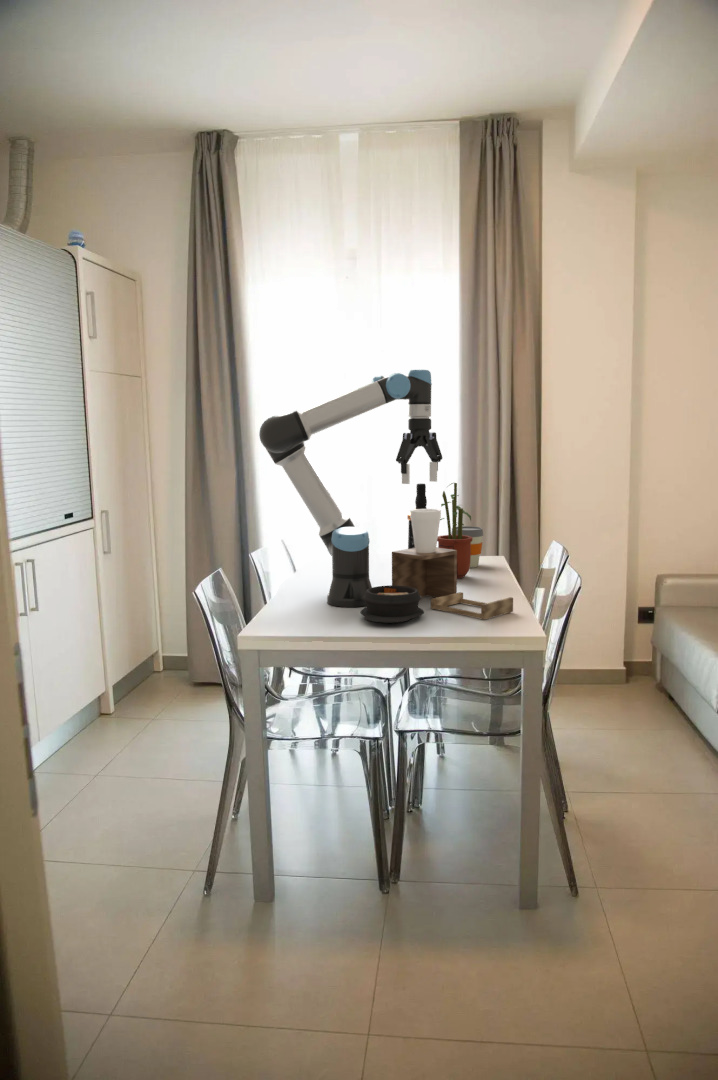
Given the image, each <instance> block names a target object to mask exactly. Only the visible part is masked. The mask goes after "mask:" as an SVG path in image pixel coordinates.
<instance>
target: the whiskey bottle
mask: <svg viewBox="0 0 718 1080" xmlns="http://www.w3.org/2000/svg"><path fill="white" fill-rule="evenodd" d="M426 485H427V484H425V483H417V484H416V492H415V493H416V497H415V501H414V503H415V509H428V508H427V505H428V499H427V495H426V492H427V491H426V489H427V488H426ZM407 520H408V531H407V533H408V538H407V539H408V540H407V549H412V548H415V544H414V537H413V529H412V521H411V518H410V512H409V513H408V514H407Z"/></svg>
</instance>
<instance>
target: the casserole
mask: <svg viewBox="0 0 718 1080" xmlns="http://www.w3.org/2000/svg"><path fill="white" fill-rule="evenodd" d="M363 599H364V600H365V602H366V606H365V608H362V609H361V610H360V614H361V616H363V618H364V620H365V621H368V622H373V623H383V624H384V623H385V624H386V623H387V624H389V623H390V624H392V623H393V624H396V623H397V624H398V623H404V622H408V621H410V620H413V619H416V618H419V617H421V616H422V615H424V614H425V611H424V610H423V609H422V608H421V607H419V603H420V601H421V599H422V597H421V596H420V595H419V593H418V590H417V589H415V588H412V587H407V586H393V585H392V584H391V585H380V586H378V585H377V586H373V587H372V588H370V589H368V590H367V591H366V594H365V596H364V597H363Z"/></svg>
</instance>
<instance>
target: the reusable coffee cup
mask: <svg viewBox="0 0 718 1080" xmlns="http://www.w3.org/2000/svg"><path fill="white" fill-rule="evenodd" d="M451 535H453V527H451ZM456 535H458V526H456ZM462 535H465V536H471V537H473V539H472V542H471V559H470V567H469V569H470V568H477V567H479V564H480V563H479V562H480V555H481V554H482V548H483V537H484V530H483V527H479V526H470V525H466V526H465V525H464V526H463V525H462Z"/></svg>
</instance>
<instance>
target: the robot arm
mask: <svg viewBox="0 0 718 1080" xmlns="http://www.w3.org/2000/svg"><path fill="white" fill-rule="evenodd" d="M431 373H432V372H431V371H430V370H429V369H410V370H409V371H408V373H407V375H406V374H403V373H401V372H394V373H392V374H391V375H387V376H386V375H380V376H378V375H377V376H374V377H372V380H371V382H370V383H369V384H366V385H364V386H362V387H361V386H360V387H359V388H357V389H354V390H351V391H349V392H347V393H344V394H342V395H339V396H338V397H337V396H336V397H335V398H333V399H329V400H327V401H325V402H323V403H321V404H318V405H316V406H313V407H310V408H308V409H306V410H303V411H300V410H297V409H296V410H294V411H292V412H290V413H286V414H281V415H274V416H271V417H269V418H267V419H266V420H264V422H263V423H262V424H261V426H260V427H259V432H258V433H259V440H260V442H261V444H262V446H263V447H264V448H265V450H266V452H267V453H268V455H269V456H270V458H271V459H272V461H273V462H274V464H275V465H278V466H281V467H282V468H283V471H284V472H285V473H286V475H287V476H288V478H289V480H290V482H291V483H292V485H293V486H294V488H295V489H296V492H297V493H298V494H299V496H300V498H301V499H302V501H303V503H304V504H305V506H306V507H307V509H308V511H309V512H310V514H311V515H312V518H313V519H314V520H315V522H316V524H317V526H318V527H319V532H318V536H319V537H320V538H321V540H322V543H323V544H324V546H325V547H326V549H327V552H328V554H330V556H331V559H332V561H331V562H332V563H331V564H332V569H331V570H332V572H331V573H332V577H331V578H332V580H331V584H330V588H329V590H328V591H329V593H328V594H327V597H326V600H327V604H328V605H329V606H334V607H340V608H341V607H342V608H358V607H359V608H360V607H366V602H365V600H364V599H363V597H364V596H365V594H366V591H367V590H368V589H370V588H373V587H372V582H371V579H370V538H369V536H370V535H369V532H368V531H367V530H366V529H365V528H361V527H357V526H355V525H354V522H353V521H352V520H351V518H350V516H348V515H344V514H343V513H342V512H341V510H340V509H339V507H338V505H337V503H336V502H335V500H334V498H333V496H332V495H331V493H330V492H329V490H328V489H327V487H326V485H325V484H324V482H323V480H322V478H321V477H320V476H319V474H318V472H317V470H316V469H315V468H314V466H313V464H312V463H311V461H310V459H309V458H308V456H307V454H306V451H305V450H306V448H307V445H306V443H305V442H307V441H309V440H310V439H311V438H312V436H313V435H315V434H318V433H320V432H322V431H324V430H326V429H327V430H328V429H330V428H332V427H334V426H337V425H339V424H341V423H343V422H346V421H348V420H350V419H353V418H355V417H357V416H360V415H362V414H365V413H367V412H369V411H371V410H375V409H376V408H377V409H378V407H381V406H385V405H386V404H389V403H391V402H394V401H397V400H407V401H408V407H407V408H408V409H407V410H408V411H407V414H408V415H407V417H409V419H408V421H407V422H408V423H407V424H408V430H409V432H403V434H402V441H401V443H400V445H399V449H398V451H397V456H396V458H395V461H396V463H398V464H400V473H401V485H402V484H404V485H410V482H411V481H410V477H411V476H410V471H411V470H410V467H411V466H410V463H408V462H409V461H410V459H411V457H412V455H413V454H414V452H415V450H416V449H417V448H418V447H422V448H423V449H424V451H425V453H426V454H427V456H428V458H429V459H430V461H429V482H436V483H437V482H438V471H439V463H441V461H442V460H443V454H442V452H441V448H440V445H439V443H438V440H437V439H438V438H437V433H436V432H434V431H432V432H430V430H431V429H432V419H431V418H432V385H433V383H432V374H431ZM430 417H431V418H430Z"/></svg>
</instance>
